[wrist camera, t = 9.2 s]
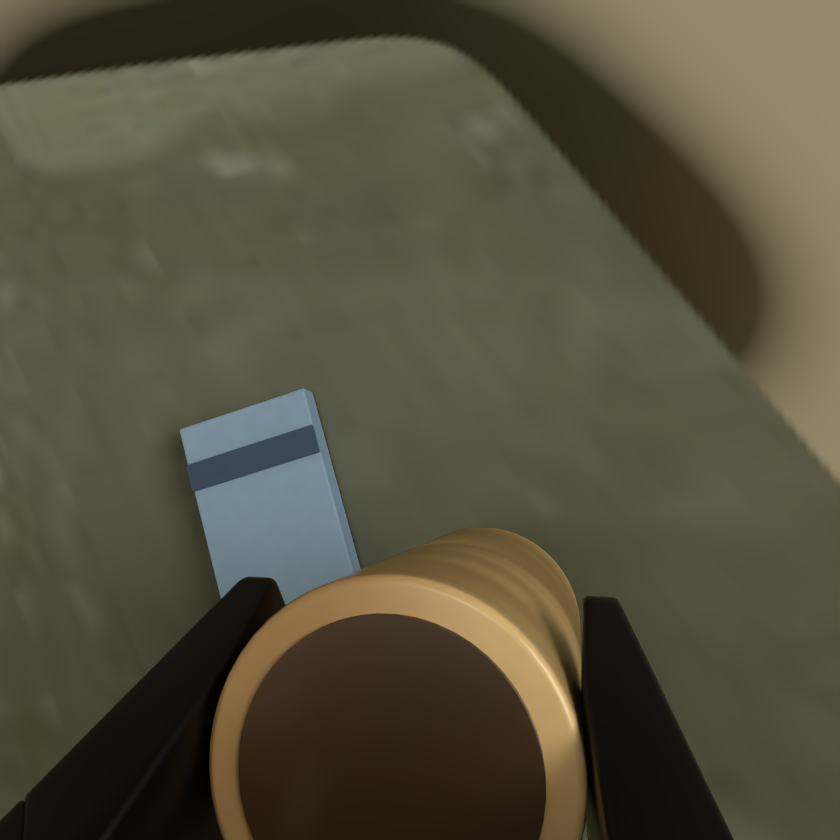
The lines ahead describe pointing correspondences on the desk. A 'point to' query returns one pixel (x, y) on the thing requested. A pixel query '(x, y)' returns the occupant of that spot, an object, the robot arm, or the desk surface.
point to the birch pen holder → (411, 704)
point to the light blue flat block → (270, 496)
